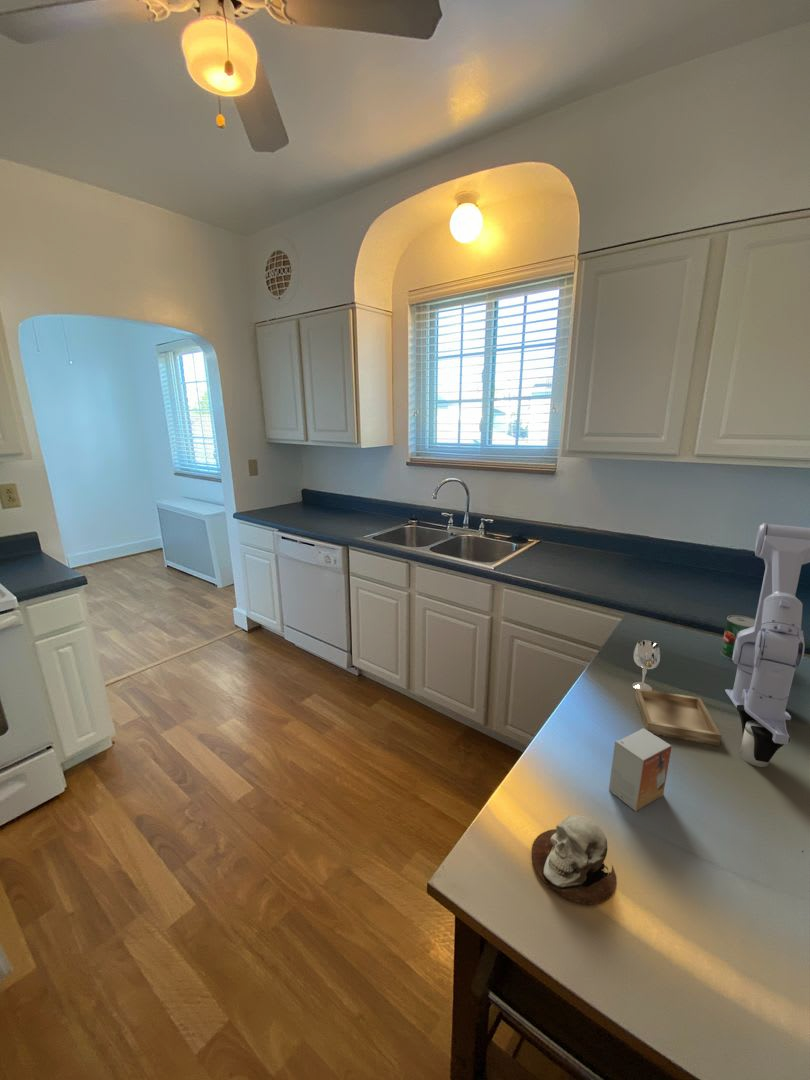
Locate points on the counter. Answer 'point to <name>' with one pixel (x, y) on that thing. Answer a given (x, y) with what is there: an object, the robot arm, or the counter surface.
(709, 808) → the counter surface
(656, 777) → the small box
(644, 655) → the wineglass
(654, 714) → the tray
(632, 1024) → the counter surface
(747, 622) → the canned tomato
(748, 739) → the shaker
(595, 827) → the skull
